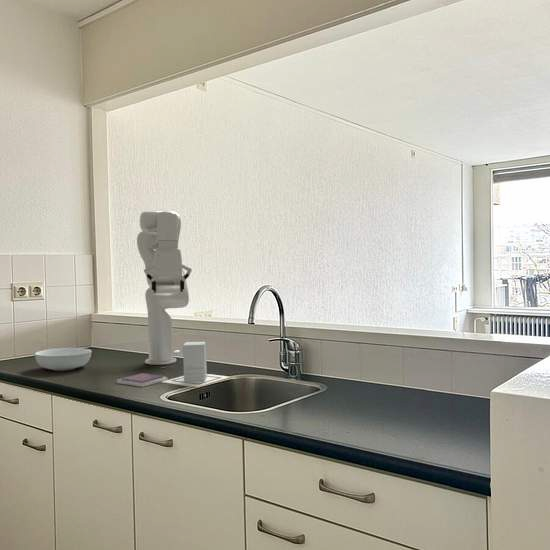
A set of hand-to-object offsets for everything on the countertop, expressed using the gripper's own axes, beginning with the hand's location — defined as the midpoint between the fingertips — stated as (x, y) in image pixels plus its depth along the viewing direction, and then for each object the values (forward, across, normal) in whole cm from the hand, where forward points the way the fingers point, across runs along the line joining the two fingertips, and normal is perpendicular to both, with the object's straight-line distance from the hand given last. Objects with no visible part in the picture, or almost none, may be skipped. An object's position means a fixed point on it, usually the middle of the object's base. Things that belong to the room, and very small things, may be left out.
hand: (168, 291), depth 210 cm
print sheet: (+30, +8, -16) cm, 35 cm away
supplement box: (+29, +8, -16) cm, 34 cm away
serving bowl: (+32, -40, +22) cm, 56 cm away
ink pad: (+30, -10, -13) cm, 34 cm away
